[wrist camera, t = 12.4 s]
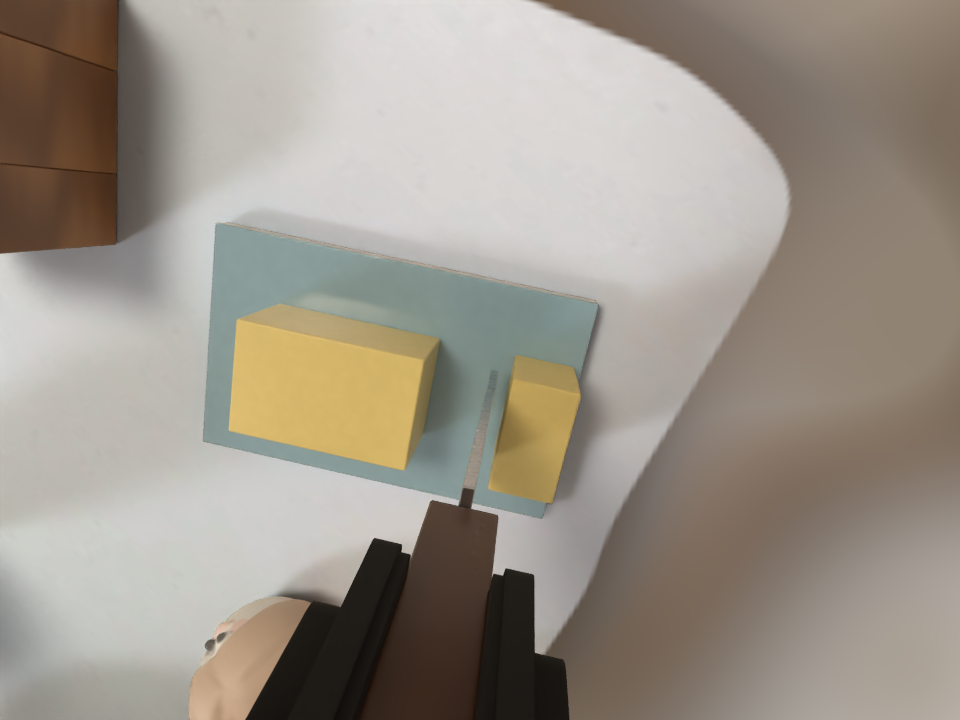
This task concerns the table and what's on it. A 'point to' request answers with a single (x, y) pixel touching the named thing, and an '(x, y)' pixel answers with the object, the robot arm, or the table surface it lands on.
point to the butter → (332, 384)
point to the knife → (440, 609)
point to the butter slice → (534, 429)
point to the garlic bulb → (242, 658)
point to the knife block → (58, 124)
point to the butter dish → (405, 306)
